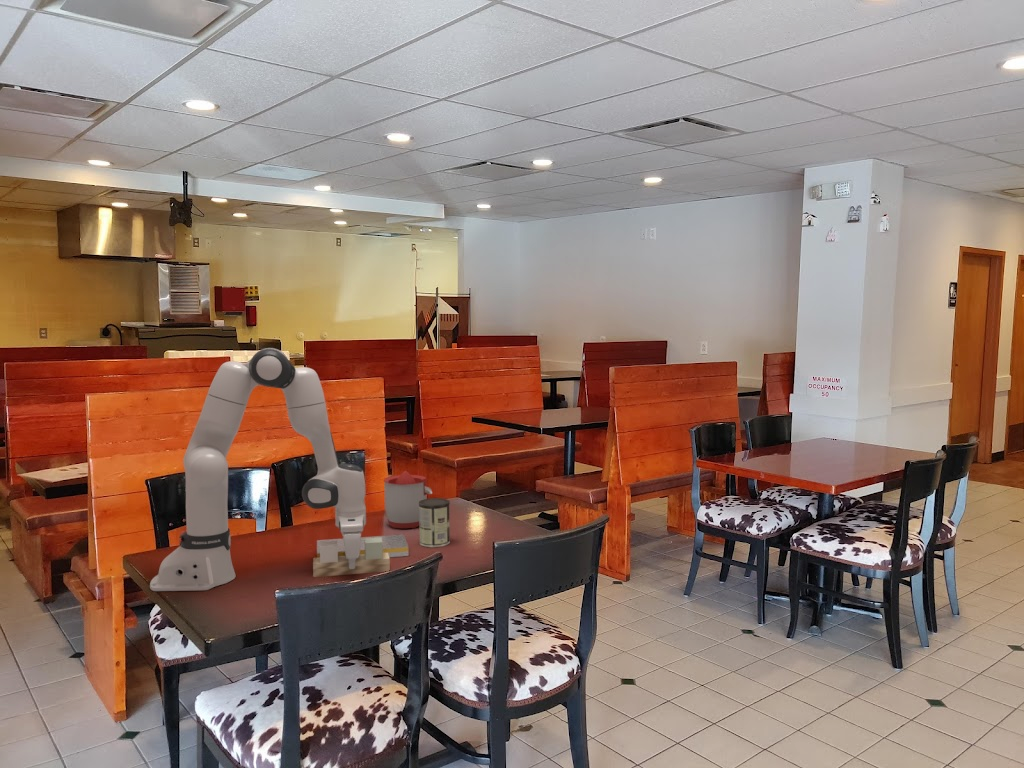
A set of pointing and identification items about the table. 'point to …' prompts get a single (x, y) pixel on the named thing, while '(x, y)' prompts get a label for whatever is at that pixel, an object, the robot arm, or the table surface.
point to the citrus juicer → (404, 499)
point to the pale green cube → (373, 548)
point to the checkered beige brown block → (343, 566)
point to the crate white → (328, 551)
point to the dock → (391, 545)
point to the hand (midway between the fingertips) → (351, 564)
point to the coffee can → (434, 522)
